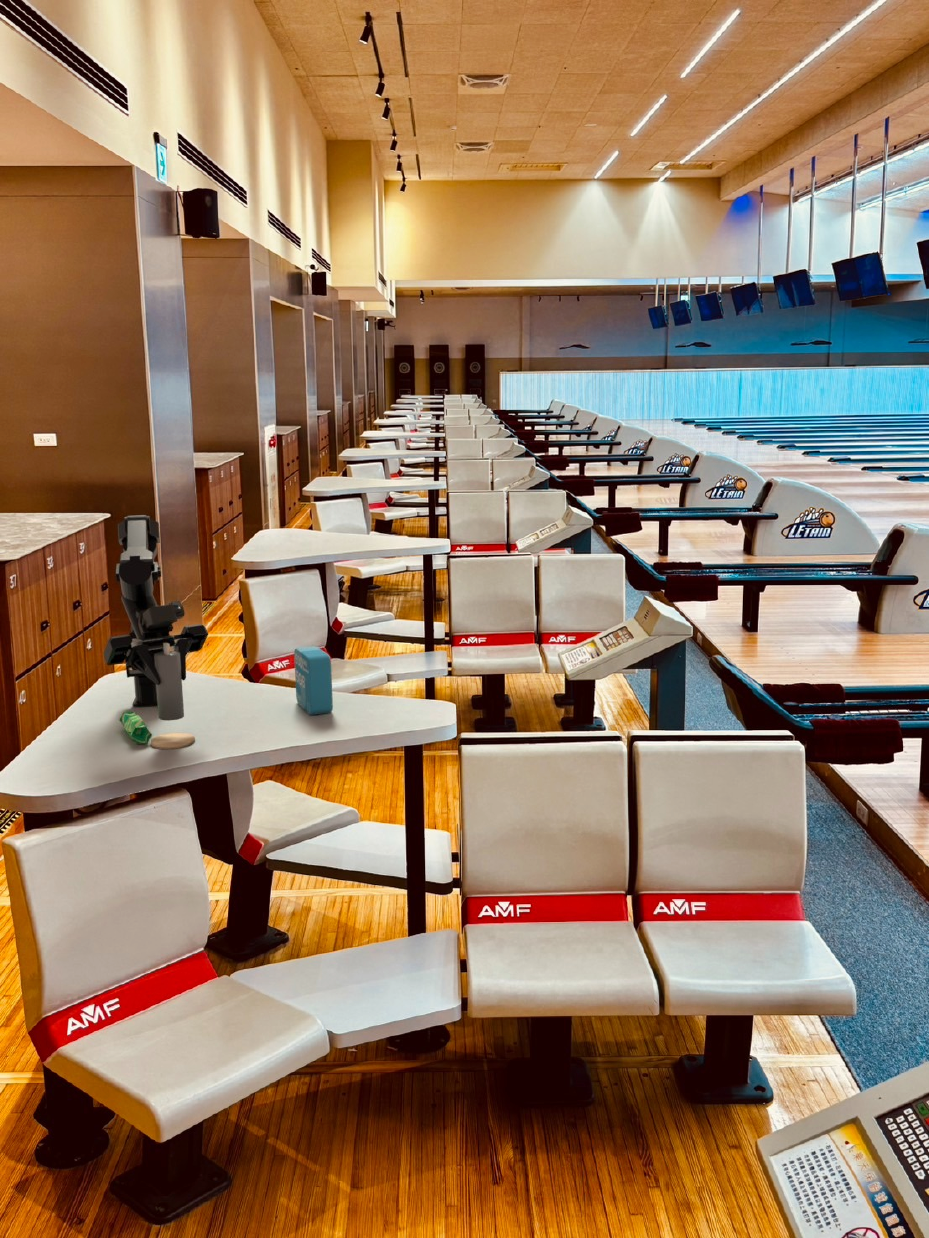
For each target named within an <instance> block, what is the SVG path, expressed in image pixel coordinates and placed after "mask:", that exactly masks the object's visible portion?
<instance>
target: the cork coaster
mask: <svg viewBox="0 0 929 1238" xmlns="http://www.w3.org/2000/svg"><path fill="white" fill-rule="evenodd" d="M195 742H196V738H195V735H193V734H191V733H187V732H186V733H185V732H172V733H163V734H161V735H157V736H155V737H153V738H152V739H150V745H151V747H152V748H154V749H155V748H156V749H159V750H160V749H161V750H173V749H181V748H185V747H188V746H190V745H193V744H194V743H195Z"/></svg>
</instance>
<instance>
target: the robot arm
mask: <svg viewBox="0 0 929 1238" xmlns="http://www.w3.org/2000/svg"><path fill="white" fill-rule="evenodd" d="M160 532H161V531H160V524H159V521H156V520H154V519H152V518H150V515H146V514H142V515H141V514H140V515H139V514H138V515H137V514H136V515H127V516H125V517H124V520H122V521H121V522H118V524H117V534H118V543H119V545H120V546H122V550H123V552H122V553H120V557H119V563H116V566H115V567H116V569H115V579H116V583H120V587H121V588H120V589H121V593H122V595H121V597H120V598H121V601H122V604H123V607H124V609H125V612H126V614H127V616H128V619H129V622H130V628H129V629H130V632H129V634H122V635H117V636H116V635H115V636H110V637H109V639H108V640H107V643H106V646H105V648H104V650H103V659H104V661H105V663H106V665H107V666H115V665H121V664H123V663H124V662H125V673H126V678H133V682H134V684H133V685H134V694H135V696H134V700H133V701H132V704H131V705H132V707H144V706H145V707H147V706H158V702H157V688H156V684H157V685H160V682H161V681H160V678H159V675H158V673H157V670H156V668H155V660H154V654H156V653H159V652H164V646H163V643H169V644H170V649H171V651H176V652H179V653H180V661H181V676H182V681H185V680H186V678H187V660H186V659H187V655H188V654H189V653H196V652H197V653H198V652H200V651H201V650H202V649H203V647H204V645H205V643H206V640H207V638H208V636H209V632H208V630H207V627H206V626H205V625H204V624H202V623H198V624H191V625H184V626H183V628H182V630H181V633H180V634H170V632H173V630H174V625H173V624H174V623H177V622H178V620H180V619H182V618H184V617H185V614H186V613H185V609H184V606H183V604H182V602H181V600H175V601H174V600H173V601H171V602H169V603H168V604H165V605H164V604H163V605H158V604H157V601H156V598H155V597H154V594H153V593H154V586H155V585H156V581H159V579H160V578H161V577H162V568H161V566H160V564H159V562H158V561H155V558H156V556H157V555H158V544H161V536H160V535H161V534H160Z"/></svg>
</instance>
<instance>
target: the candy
mask: <svg viewBox="0 0 929 1238" xmlns="http://www.w3.org/2000/svg"><path fill="white" fill-rule="evenodd" d="M119 721H120V723H121V724H122V725H123V728H124V730H125V731H126V733H127V734H128V736H129V737H130V739H131V740H133V742H135V744H137V745H143V744H148V743H149V741H151V737H152V736H153V734H152V732H151V731H150V730H149V729H148V727H147V725H146V724H145V722H144V721H143V719H142V718H141V716H140V715H138V714H137V713H136V712H135V711H124V712H123V713H122V714H121V716H120V719H119Z"/></svg>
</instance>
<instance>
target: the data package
mask: <svg viewBox="0 0 929 1238" xmlns="http://www.w3.org/2000/svg"><path fill="white" fill-rule="evenodd" d="M293 655H294V674H295V675H294V677H295V695H296V696H295V697H296V701H297V704H298V705H299V706H300V707H301V708H302V709H304V711H306V713H308V714H309V715H310V716H312V715H319V714H321V715H322V714H327V713H332V712H333V709H334V705H333V701H334V699H333V678H332V677H333V675H332V661H331V660H332V659H331V656H330V655H329V654H328V653H327V652H325V651H323V650H322V648H320V647H318V646H317V645H312V646H303V647H295V648H294V653H293Z"/></svg>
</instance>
